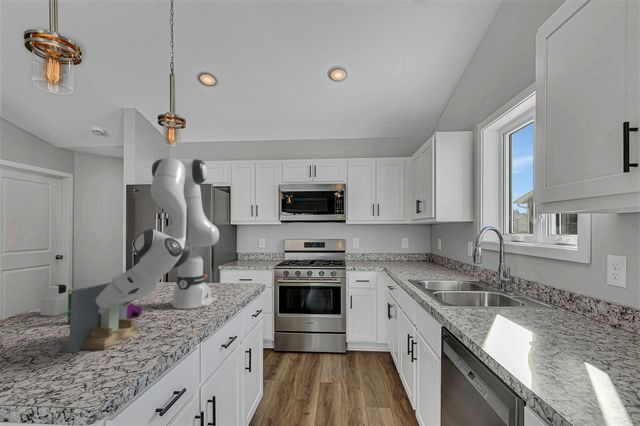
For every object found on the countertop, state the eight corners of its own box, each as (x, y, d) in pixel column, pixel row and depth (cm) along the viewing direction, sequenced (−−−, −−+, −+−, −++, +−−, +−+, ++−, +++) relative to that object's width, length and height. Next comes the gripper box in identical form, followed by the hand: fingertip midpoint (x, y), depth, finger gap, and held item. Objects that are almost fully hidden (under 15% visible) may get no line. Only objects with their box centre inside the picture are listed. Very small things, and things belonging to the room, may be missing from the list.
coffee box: (66, 325, 115) (68, 290, 115) (66, 323, 117) (68, 288, 118) (92, 321, 119) (94, 287, 120) (93, 319, 122) (94, 286, 122)
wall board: (113, 329, 111) (115, 279, 112) (126, 330, 110) (128, 279, 111) (59, 351, 91) (63, 290, 92) (74, 352, 90) (77, 291, 91)
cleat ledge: (119, 332, 107) (120, 317, 107) (137, 334, 106) (138, 318, 106) (83, 348, 93) (84, 330, 93) (104, 349, 92) (105, 331, 92)
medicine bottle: (56, 310, 134) (58, 283, 134) (71, 311, 133) (72, 283, 133) (39, 315, 127) (41, 286, 127) (54, 316, 126) (56, 287, 126)
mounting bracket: (118, 330, 127) (90, 323, 111) (124, 309, 131) (98, 300, 115) (141, 330, 127) (116, 323, 111) (146, 309, 131) (123, 300, 115)
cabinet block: (110, 328, 102) (111, 298, 103) (118, 329, 102) (119, 299, 102) (100, 332, 98) (101, 301, 99) (108, 333, 98) (109, 301, 98)
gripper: (156, 268, 110) (131, 294, 111) (110, 277, 90) (79, 309, 91) (167, 281, 109) (141, 307, 110) (123, 293, 89) (92, 325, 90)
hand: (113, 308), depth 100 cm, fingers open, 8 cm apart
